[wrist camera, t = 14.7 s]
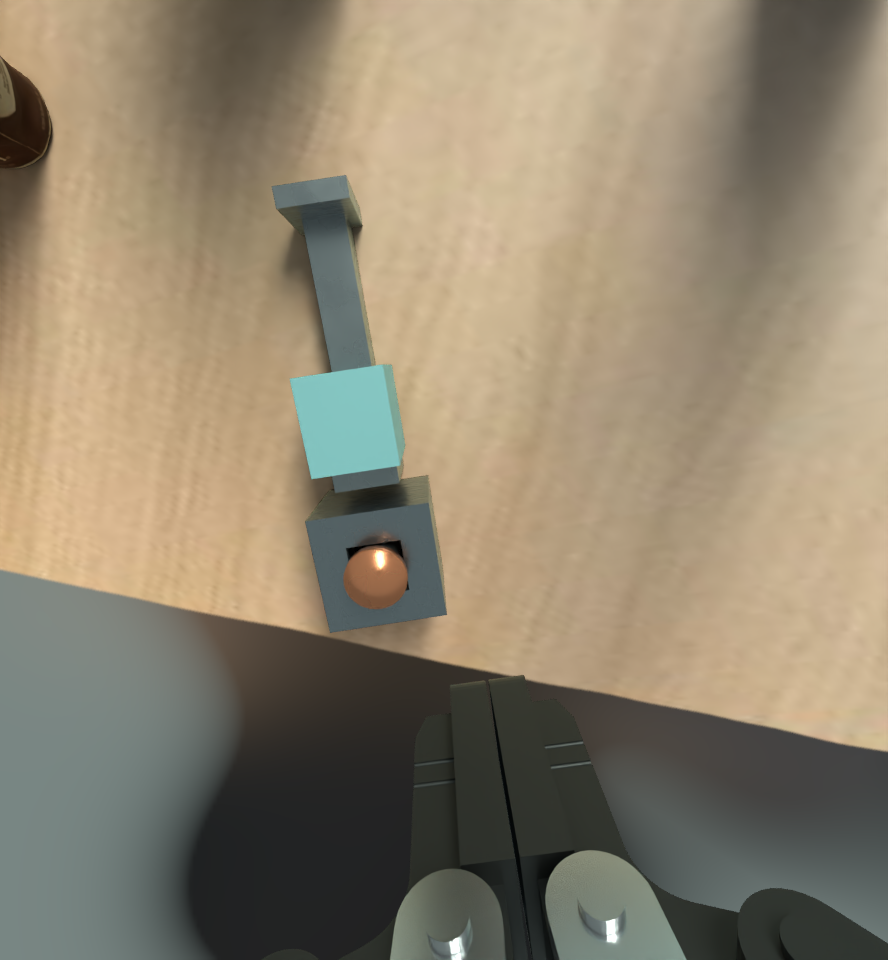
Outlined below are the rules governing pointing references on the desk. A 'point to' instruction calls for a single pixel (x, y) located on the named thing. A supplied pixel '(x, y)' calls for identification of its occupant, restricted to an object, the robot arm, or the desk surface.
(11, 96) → the coffee cup
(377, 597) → the plunger
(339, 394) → the carriage
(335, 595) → the grey cube with hole
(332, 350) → the rail
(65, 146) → the desk surface
